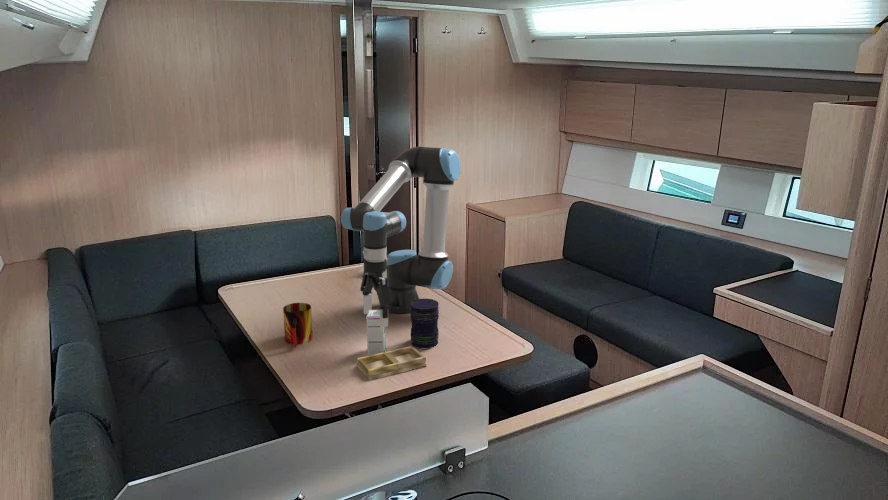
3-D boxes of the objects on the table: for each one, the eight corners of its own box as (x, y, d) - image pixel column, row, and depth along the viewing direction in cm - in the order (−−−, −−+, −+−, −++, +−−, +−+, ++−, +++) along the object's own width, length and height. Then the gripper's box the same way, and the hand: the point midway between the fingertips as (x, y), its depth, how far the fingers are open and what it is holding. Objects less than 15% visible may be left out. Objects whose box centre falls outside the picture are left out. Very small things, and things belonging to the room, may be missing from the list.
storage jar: (428, 351, 223) (428, 310, 218) (405, 344, 228) (404, 304, 223) (443, 341, 231) (444, 302, 227) (420, 334, 236) (421, 296, 232)
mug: (293, 351, 221) (292, 318, 218) (281, 336, 233) (279, 305, 229) (320, 345, 226) (319, 313, 223) (307, 331, 237) (305, 300, 234)
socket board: (411, 353, 221) (411, 345, 220) (426, 366, 212) (426, 358, 211) (356, 365, 211) (356, 357, 210) (370, 380, 202) (369, 371, 201)
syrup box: (384, 355, 219) (384, 316, 215) (367, 355, 219) (366, 315, 215) (386, 348, 224) (385, 309, 220) (369, 348, 224) (368, 309, 220)
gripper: (350, 251, 221) (351, 309, 226) (380, 271, 200) (380, 334, 205) (370, 248, 224) (371, 305, 230) (402, 267, 203) (401, 330, 209)
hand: (375, 319), depth 218 cm, fingers open, 13 cm apart
